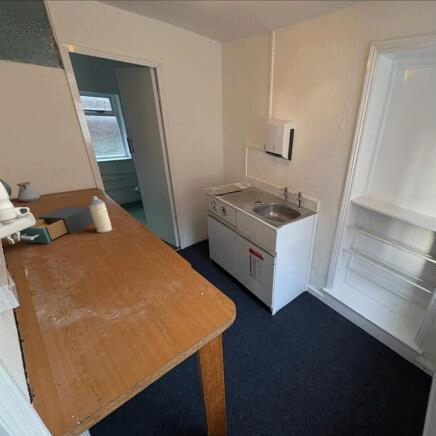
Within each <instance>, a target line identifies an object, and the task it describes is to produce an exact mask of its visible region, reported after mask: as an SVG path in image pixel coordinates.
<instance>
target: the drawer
mask: <svg viewBox="0 0 436 436" xmlns="http://www.w3.org/2000/svg"><path fill="white" fill-rule="evenodd" d="M35 221H36V224H35V225H33V226H31V227H28V228H26V229H24V230H21V231H19V232H20V236H19V239H20V241H21V240H22V242H23V243H37V244H38V243H40V244H50V243H52V242H51V241H53V240H55V239H57V238H59V237H60V236H63V235H66V234H65V233H67V232H68V230H67V227H66V224H65V222H64V219H44V218H43V219H38V220H35ZM43 225H48V226H46V227H45V228H46V229H45V228H38V227H40V226H43ZM46 230H47V231H46ZM48 235H49V236H48Z"/></svg>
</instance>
